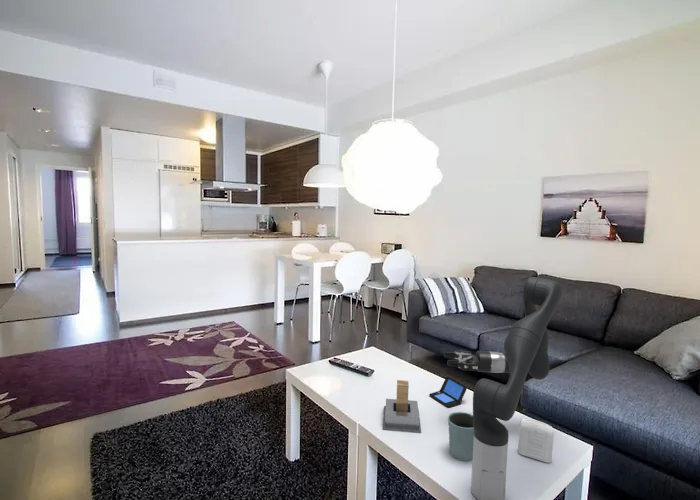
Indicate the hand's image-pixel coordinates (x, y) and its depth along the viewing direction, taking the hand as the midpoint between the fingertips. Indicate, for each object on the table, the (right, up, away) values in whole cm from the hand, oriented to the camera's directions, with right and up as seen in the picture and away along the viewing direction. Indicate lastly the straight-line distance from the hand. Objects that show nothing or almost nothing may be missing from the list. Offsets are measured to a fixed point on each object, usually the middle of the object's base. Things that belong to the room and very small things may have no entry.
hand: (445, 358), depth 142 cm
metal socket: (-16, -25, +4) cm, 30 cm away
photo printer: (+25, -28, -17) cm, 41 cm away
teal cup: (+1, -28, -16) cm, 32 cm away
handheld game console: (+6, -24, +22) cm, 33 cm away
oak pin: (-16, -24, +4) cm, 29 cm away
